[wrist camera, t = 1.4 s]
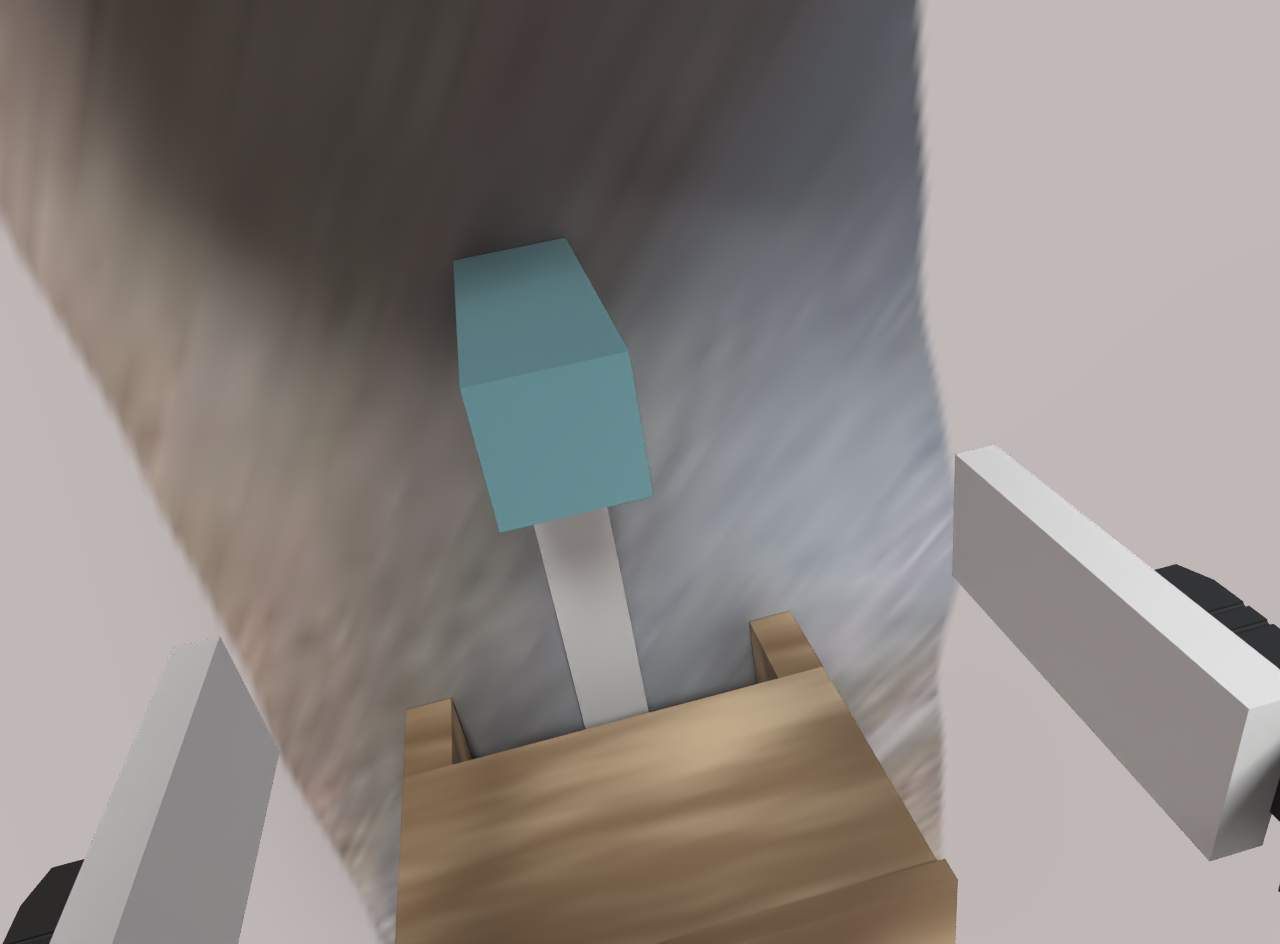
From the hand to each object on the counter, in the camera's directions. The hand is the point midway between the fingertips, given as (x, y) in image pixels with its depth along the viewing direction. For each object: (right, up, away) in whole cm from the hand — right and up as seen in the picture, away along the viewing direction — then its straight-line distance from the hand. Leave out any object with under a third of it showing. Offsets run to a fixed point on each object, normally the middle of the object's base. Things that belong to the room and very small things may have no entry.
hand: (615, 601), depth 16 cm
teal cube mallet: (-2, -1, +21) cm, 22 cm away
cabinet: (0, -12, +28) cm, 30 cm away
